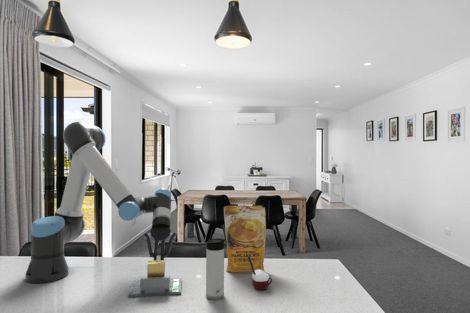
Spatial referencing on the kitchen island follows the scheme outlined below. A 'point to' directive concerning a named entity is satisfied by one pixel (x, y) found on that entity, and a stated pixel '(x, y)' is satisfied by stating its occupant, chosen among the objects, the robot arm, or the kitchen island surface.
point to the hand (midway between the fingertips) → (157, 273)
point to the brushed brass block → (156, 269)
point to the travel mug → (215, 269)
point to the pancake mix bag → (245, 237)
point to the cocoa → (259, 278)
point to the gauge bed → (155, 287)
